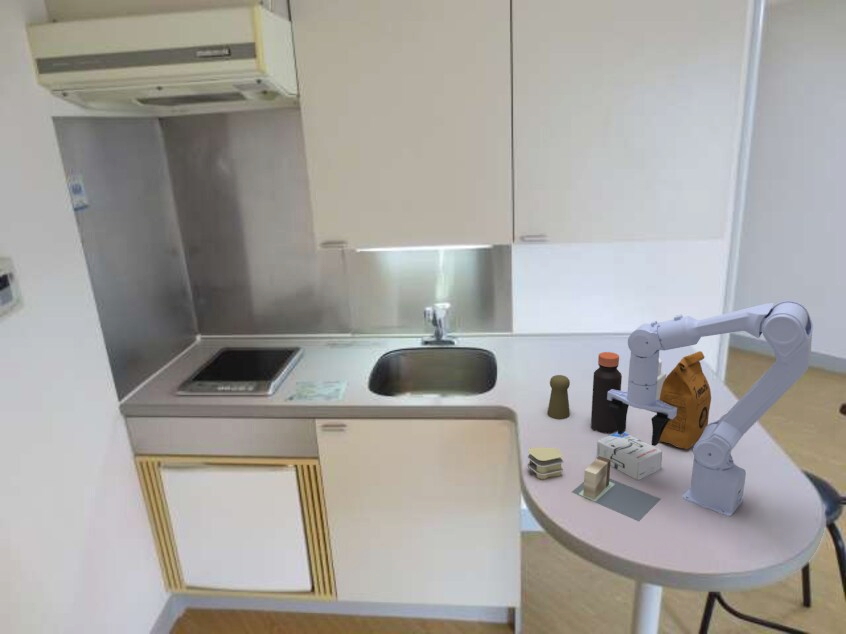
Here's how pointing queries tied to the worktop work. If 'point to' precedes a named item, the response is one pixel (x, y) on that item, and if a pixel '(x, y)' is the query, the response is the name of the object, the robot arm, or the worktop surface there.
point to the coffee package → (686, 402)
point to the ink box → (630, 455)
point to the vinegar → (605, 392)
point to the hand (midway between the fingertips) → (638, 438)
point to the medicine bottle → (660, 380)
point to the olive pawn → (559, 397)
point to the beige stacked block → (545, 461)
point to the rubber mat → (623, 499)
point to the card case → (596, 477)
